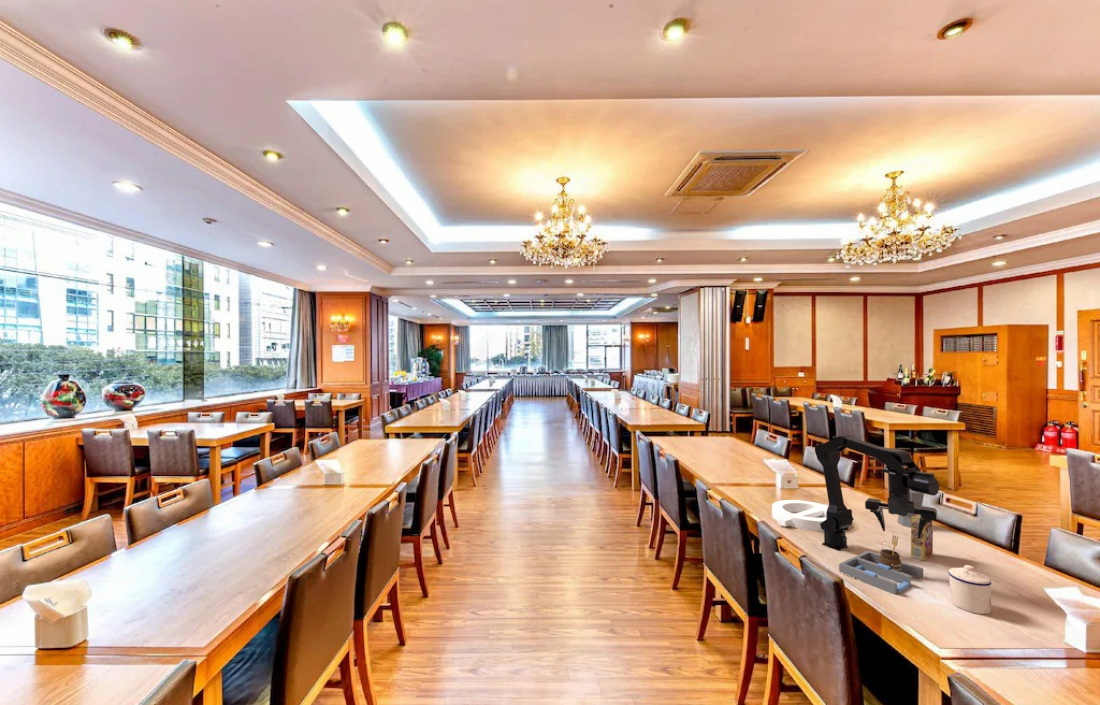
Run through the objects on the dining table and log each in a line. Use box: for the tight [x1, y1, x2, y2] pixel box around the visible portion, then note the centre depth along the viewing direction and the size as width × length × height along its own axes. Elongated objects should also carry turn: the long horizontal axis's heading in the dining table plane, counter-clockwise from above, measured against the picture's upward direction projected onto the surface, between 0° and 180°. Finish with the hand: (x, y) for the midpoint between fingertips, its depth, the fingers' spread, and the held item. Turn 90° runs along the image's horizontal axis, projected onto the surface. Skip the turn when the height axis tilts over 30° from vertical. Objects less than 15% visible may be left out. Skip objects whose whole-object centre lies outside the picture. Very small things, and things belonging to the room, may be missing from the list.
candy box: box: [910, 514, 934, 561], centre depth 160 cm, size 9×4×15 cm, turn 123°
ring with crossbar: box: [771, 499, 829, 533], centre depth 197 cm, size 28×28×5 cm
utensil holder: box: [879, 534, 903, 573], centre depth 147 cm, size 6×6×12 cm
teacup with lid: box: [947, 564, 992, 615], centre depth 129 cm, size 12×9×12 cm
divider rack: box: [838, 550, 924, 595], centre depth 146 cm, size 16×20×4 cm
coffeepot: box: [897, 489, 925, 528], centre depth 190 cm, size 15×9×18 cm, turn 103°
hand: (901, 534), depth 147 cm, fingers open, 9 cm apart
